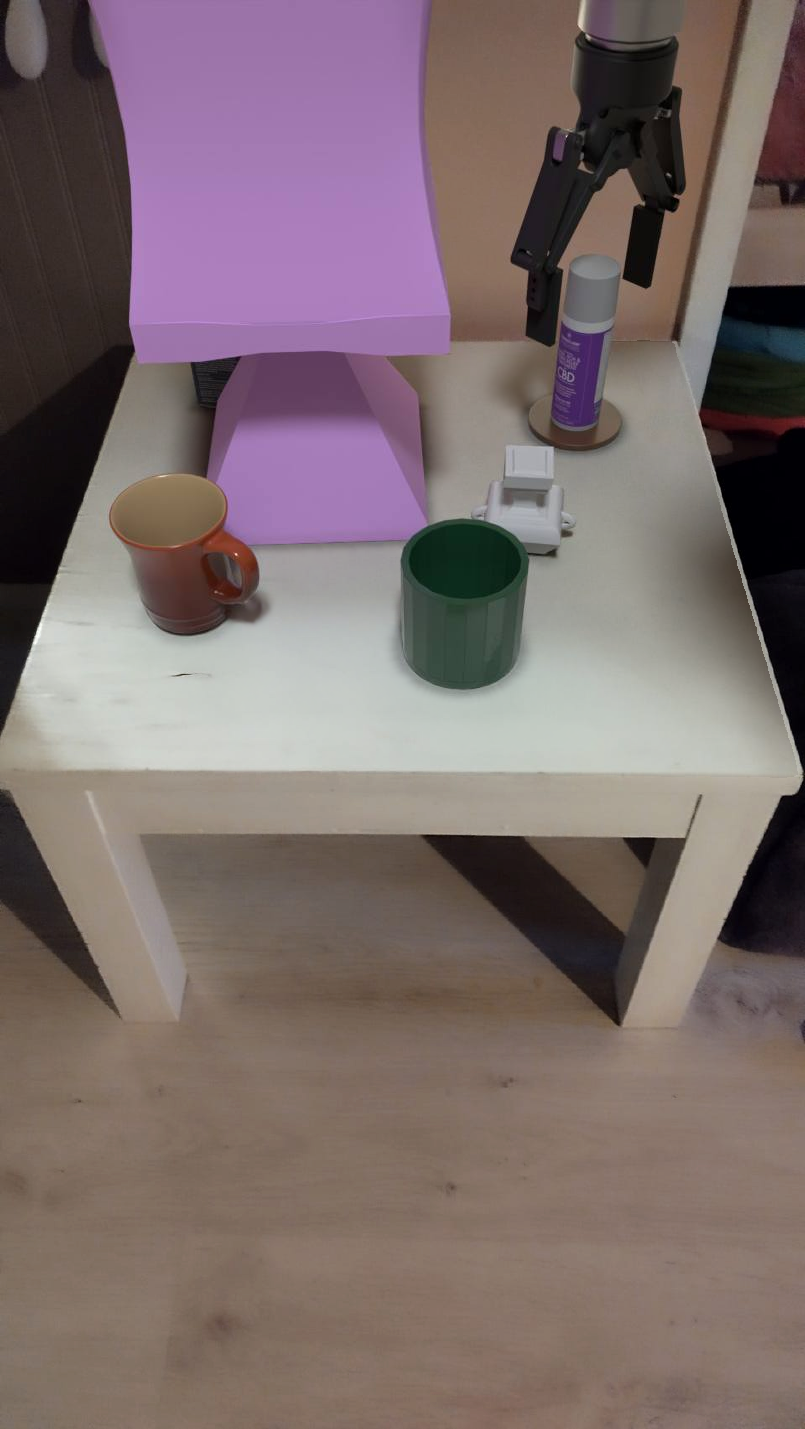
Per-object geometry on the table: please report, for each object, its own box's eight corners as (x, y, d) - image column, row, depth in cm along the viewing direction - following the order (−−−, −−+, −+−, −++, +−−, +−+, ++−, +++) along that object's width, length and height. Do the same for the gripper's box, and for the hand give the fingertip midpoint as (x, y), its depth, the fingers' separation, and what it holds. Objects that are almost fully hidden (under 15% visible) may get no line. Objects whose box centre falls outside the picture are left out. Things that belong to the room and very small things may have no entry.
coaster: (639, 422, 99) (640, 417, 98) (581, 463, 95) (582, 457, 94) (567, 386, 103) (568, 380, 102) (508, 423, 99) (509, 418, 98)
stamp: (574, 517, 90) (586, 437, 83) (572, 568, 85) (584, 488, 79) (473, 510, 90) (477, 429, 84) (465, 559, 86) (469, 479, 80)
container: (544, 425, 97) (561, 274, 86) (558, 399, 100) (576, 249, 89) (591, 436, 96) (615, 284, 85) (604, 409, 99) (628, 258, 87)
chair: (431, 400, 101) (437, -198, 67) (444, 549, 87) (461, -112, 52) (207, 407, 101) (96, -190, 66) (184, 558, 87) (27, -101, 52)
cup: (543, 645, 80) (555, 559, 73) (463, 708, 76) (468, 624, 69) (458, 588, 84) (461, 502, 77) (378, 646, 80) (374, 560, 73)
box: (251, 412, 101) (236, 309, 92) (196, 407, 101) (177, 305, 93) (270, 368, 106) (257, 267, 97) (217, 364, 106) (200, 263, 98)
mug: (115, 620, 82) (83, 521, 74) (185, 558, 87) (162, 459, 79) (231, 678, 78) (210, 580, 70) (298, 610, 83) (286, 511, 75)
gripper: (685, -17, 81) (640, 247, 97) (472, 66, 70) (462, 349, 86) (767, 3, 77) (706, 274, 93) (557, 95, 66) (530, 384, 82)
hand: (589, 310), depth 90 cm, fingers open, 13 cm apart
